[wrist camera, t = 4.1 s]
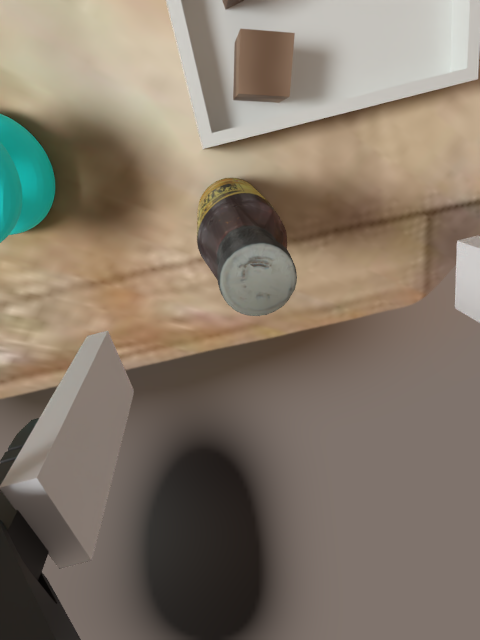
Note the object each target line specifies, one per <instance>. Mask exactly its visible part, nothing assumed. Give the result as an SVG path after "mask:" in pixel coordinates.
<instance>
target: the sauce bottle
mask: <svg viewBox="0 0 480 640" xmlns="http://www.w3.org/2000/svg"><path fill="white" fill-rule="evenodd" d="M197 225H198V227H197V243H198V249H199V252H200V254H201V256H202V258H203V259H204V261H205V262H206V264H207V265H208V266H209V268H210V269H211V271H212V272H213V274H214V275H215V277H216V278H217V280H218V285H219V288H220V291H221V294H222V296H223V297H224V299H225V301H226V302H227V303H228V305H230V306H231V307H232V308H233V309H234V310H236V311H238V312H240V313H242V314H245V315H250V316H260V315H267V314H269V313H272V312H274V311H276V310H278V309H279V308H281V307H282V306H283V305H284V304H285V303H286V302H287V301H288V300H289V298H290V296H291V295H292V293H293V291H294V290H295V286H296V281H297V275H296V269H295V265H294V263H293V261H292V258H291V256H290V254H289V252H288V251H287V235H286V230H285V227H284V225H283V223H282V221H281V220H280V217H279V216H278V214H277V213H276V211H275V209H274V208H273V207H272V205H271V204H270V203H269V202H268V201H267V200H266V199H265V198H264V197H263V196H262V195H261V194H260V193H259V192H258V191H257V190H256V189H255V188H254V187H253V186H251V185H250V184H249V183H247V182H246V181H243V180H241V179H237V178H224V179H221V180H219V181H216V182H215V183H213V184H212V185H210V186H209V187H208V188H207V189H206V191H205V192H204V193H203V195H202V197H201V199H200V201H199V205H198V221H197Z"/></svg>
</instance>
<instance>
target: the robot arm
mask: <svg viewBox="0 0 480 640" xmlns="http://www.w3.org/2000/svg"><path fill="white" fill-rule="evenodd" d="M455 308H456V309H458V310H459V311H461V312H462V313H464V314H466V315H467V316H469V317H471V318H473V319H474V320H476V321H478V322H479V323H480V236H474V237H470V238H466V239H462V240H458V241H457V260H456V291H455ZM133 394H134V390H133V387H132V385H131V383H130V381H129V378H128V376H127V374H126V371H125V369H124V367H123V364H122V362H121V360H120V358H119V355H118V353H117V351H116V348H115V346H114V344H113V342H112V339H111V337H110V335H109V332H108V331H105V332H101V333H97V334H93V335H89V336H87V337H86V339H85V341H84V342H83V344H82V346H81V348H80V349H79V351H78V353H77V354H76V356H75V358H74V360H73V361H72V363H71V365H70V367H69V368H68V370H67V372H66V373H65V375H64V377H63V379H62V380H61V382H60V384H59V385H58V387H57V389H56V391H55V393H54V394H53V396H52V398H51V399H50V401H49V403H48V404H47V406H46V408H45V410H44V411H43V413H42V415H41V417H40V418H38V419H34V420H31V421H30V422H29V423H28V424H27V425H26V426H25V427H24V428H23V429H22V430H21V431H20V432H19V433H18V434H17V435H16V437H15V438H14V440H13V441H12V443H11V445H10V446H9V448H8V451H7V452H5V454H4V456H3V457H2V459H1V460H0V462H1V463H0V640H81V639H80V638H79V636H78V634H77V632H76V630H75V628H74V627H73V625H72V623H71V621H70V619H69V617H68V616H67V614H66V612H65V610H64V608H63V607H62V605H61V603H60V601H59V599H58V597H57V596H56V594H55V592H54V590H53V588H52V587H51V585H50V583H49V581H48V580H47V578H46V577H45V576H44V574H43V573H42V569H43V566H44V563H45V561H46V558H47V555H48V554H49V556H50V557H51V558H52V560H53V561H54V562H55V563H56V565H57V566H58V568H59V569H61V568H65V567H69V566H73V565H76V564H80V563H84V562H88V561H91V560H92V557H93V553H94V549H95V545H96V541H97V537H98V533H99V529H100V525H101V521H102V517H103V513H104V509H105V505H106V501H107V497H108V493H109V489H110V486H111V481H112V477H113V473H114V469H115V465H116V462H117V458H118V454H119V449H120V446H121V442H122V438H123V434H124V430H125V425H126V421H127V418H128V413H129V410H130V406H131V401H132V398H133Z"/></svg>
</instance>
